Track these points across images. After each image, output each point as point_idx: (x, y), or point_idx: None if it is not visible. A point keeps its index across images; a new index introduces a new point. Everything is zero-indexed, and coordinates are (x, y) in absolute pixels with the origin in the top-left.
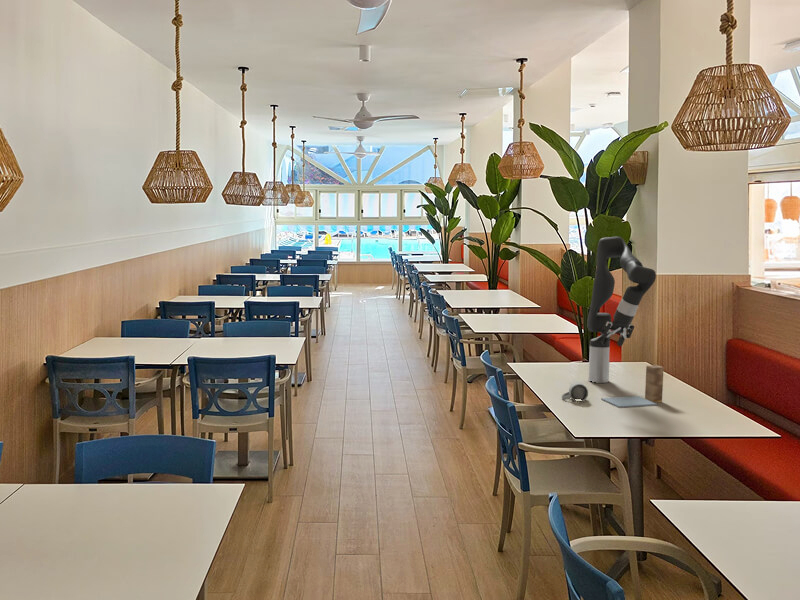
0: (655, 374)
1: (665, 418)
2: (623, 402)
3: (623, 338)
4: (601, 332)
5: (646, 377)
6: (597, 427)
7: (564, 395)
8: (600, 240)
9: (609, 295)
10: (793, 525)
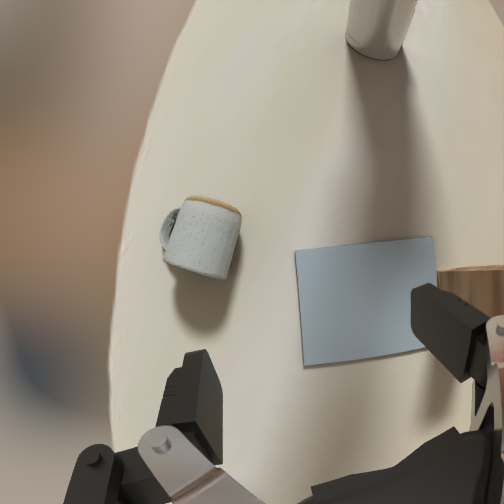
0: None
1: (366, 468)
2: (345, 320)
3: (473, 373)
4: (90, 466)
5: (478, 274)
6: None
7: (176, 213)
8: None
9: None
10: None
